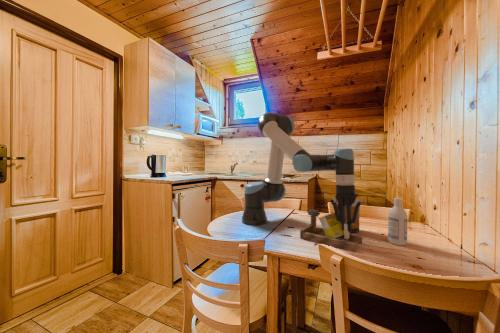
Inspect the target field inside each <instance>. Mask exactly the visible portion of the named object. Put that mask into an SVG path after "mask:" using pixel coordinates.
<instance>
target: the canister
mask: <svg viewBox="0 0 500 333" xmlns="http://www.w3.org/2000/svg"><path fill="white" fill-rule="evenodd" d="M355 196H356V198H357V197H359V194H357V193H356V192H355ZM337 205H338V208H339V212H340V215H341V208H340V204H339V202H338V201H337ZM351 206H352V207H351V218H353V214H354V209H355V206H356V204H355V201H354V203H353V204H352V205H351ZM360 207H361V206H360ZM360 207H359V211H358V215H357V219H356V222H355V223H352V224H351V228H352V230H351V231H349V233H357V232H359V231H360V209H361V208H360ZM345 214H346V222H345V223H347V208H346V206H345ZM340 224H341V226H342V223H341V222H340Z"/></svg>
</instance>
